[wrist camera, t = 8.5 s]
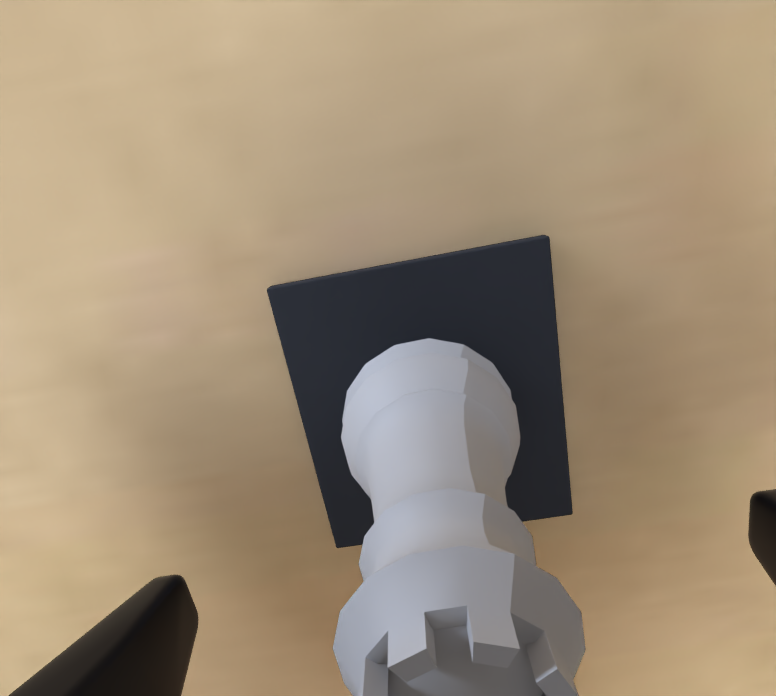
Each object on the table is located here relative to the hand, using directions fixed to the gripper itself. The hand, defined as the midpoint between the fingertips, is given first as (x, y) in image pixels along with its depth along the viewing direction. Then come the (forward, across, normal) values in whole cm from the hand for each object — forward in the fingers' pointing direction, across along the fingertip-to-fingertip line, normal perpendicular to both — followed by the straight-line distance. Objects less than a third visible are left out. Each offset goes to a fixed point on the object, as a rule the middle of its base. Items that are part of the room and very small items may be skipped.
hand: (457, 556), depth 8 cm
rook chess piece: (+6, 0, 0) cm, 6 cm away
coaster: (+6, 0, 0) cm, 6 cm away
